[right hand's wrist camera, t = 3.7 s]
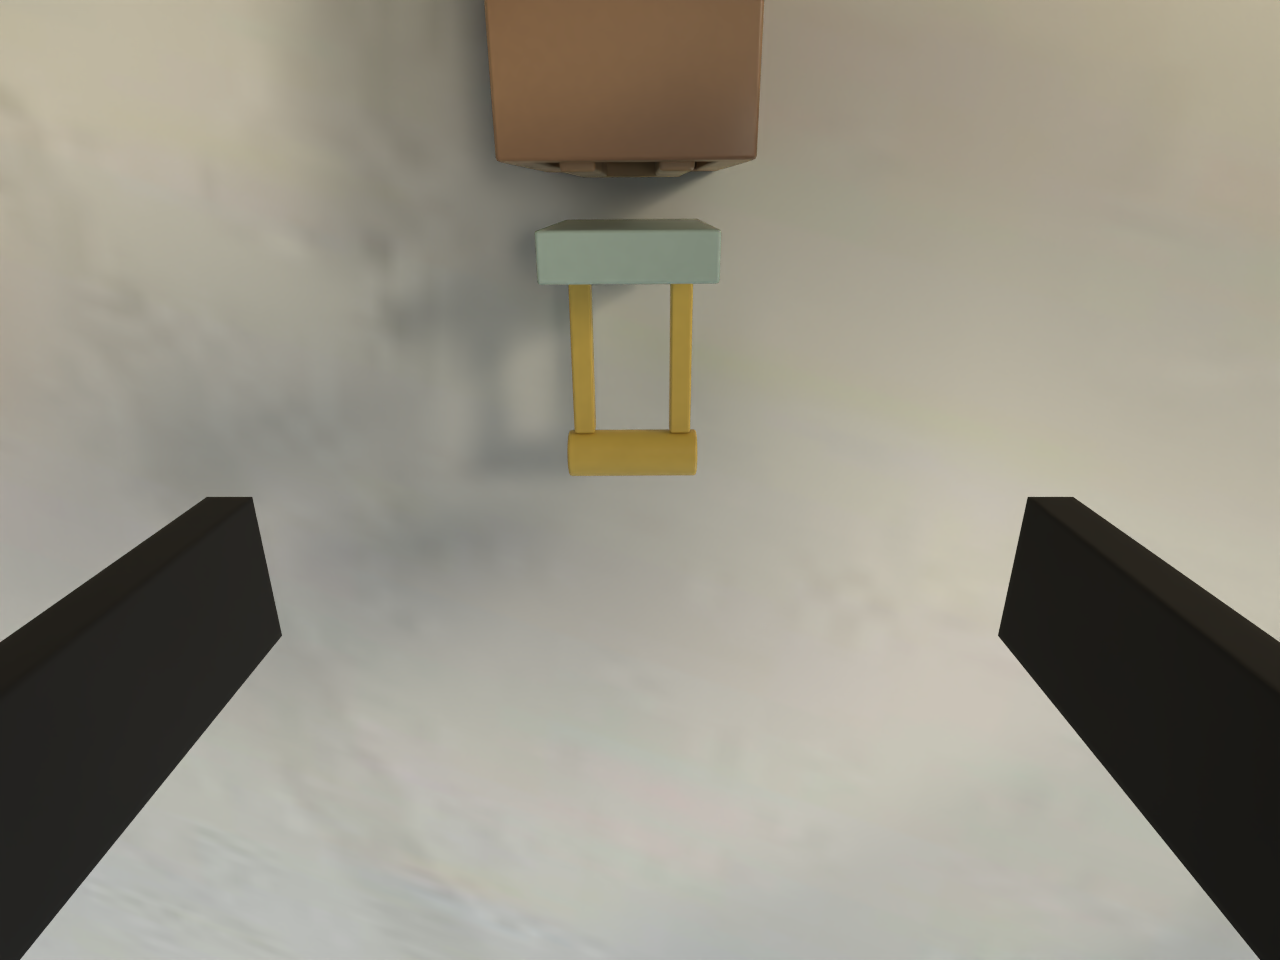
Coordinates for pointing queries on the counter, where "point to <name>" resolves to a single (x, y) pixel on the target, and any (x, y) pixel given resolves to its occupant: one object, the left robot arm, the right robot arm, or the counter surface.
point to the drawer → (629, 258)
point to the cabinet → (625, 81)
